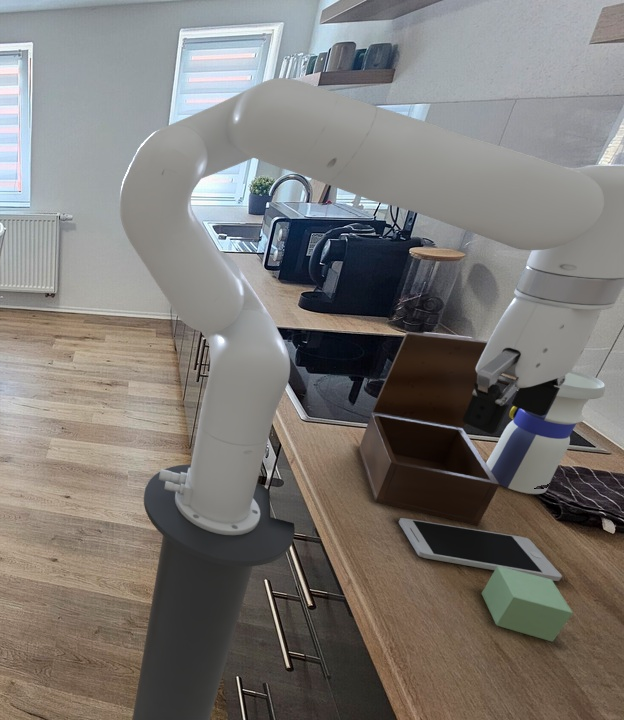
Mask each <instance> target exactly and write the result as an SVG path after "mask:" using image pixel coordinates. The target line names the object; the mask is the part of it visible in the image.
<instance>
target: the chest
mask: <svg viewBox="0 0 624 720" xmlns="http://www.w3.org/2000/svg"><path fill="white" fill-rule="evenodd" d="M358 451H359V453H360V457H361V461H362V463H363V466H364V469H365V474H366V476H367V480H368V483H369V486H370V489H371V492H372V495H373V499H374V502H375V503H379V504H383V505H386V506H387V505H388V506H392V507H396V508H400V509H404V510H409V511H413V512H418V513H421V514H426V515H430V516H435V517H439V518H442V519H448V520H452V521H457V522H460V523H465V524H470V525H474V526H479V524H480V523H481V521H482V519H483V517H484V515H485V514H486V511H487V509H488V507H489V506H490V504H491V502H492V500H493V498H494V496H495V495H496V493H497V491H498V489H499V487H500V486H501V485H500V484H499V483H498V481H497V480H496V478H495V477H494V475H493V474H492V472H491V471H490V469H489V467H488V466H487V464H486V462H485V460H484V458H483V457H482V455H481V454H480V452H479V450H478V449H477V448H476V446H475V445H474V443H473V442H472V440H471V439H470V437H469V436H468V434H467V433H466V431H465V430H464V428H463V427H457V426H452V425H446V424H440V423H434V422H428V421H422V420H416V419H411V418H405V417H399V416H393V415H387V414H381V413H375V412H371V414H370V416H369V420H368V422H367V426H366V428H365V431H364V433H363V436H362V439H361V442H360V445H359V447H358Z"/></svg>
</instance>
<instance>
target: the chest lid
mask: <svg viewBox="0 0 624 720" xmlns="http://www.w3.org/2000/svg"><path fill="white" fill-rule="evenodd" d="M488 341H489V340H484V339H474V338H473V337H471V336H465V335H464V336H463V335H455V334H448V333H447V334H446V333H436V332H430V331H429V332H427V331H423V332H414V331H406V332H405V335H404V337H403V339H402V341H401V343H400V346H399V348H398V350H397V353H396V355H395V357H394V359H393V362H392V364H391V366H390V369H389V371H388V373H387V375H386V378H385V379H384V382H383V384H382V387H381V388H380V391H379V393H378V396H377V398H376V400H375V402H374V405H373V407H372V413H375V414H381V415H387V416H393V417H399V418H405V419H410V420H416V421H422V422H428V423H434V424H440V425H446V426H452V427H458V428H465V427H467V424H466V423H464V422H463V417H464V415H465V412H466V410H467V408H468V406H469V403H470V401H471V399H472V396H473V395H472V392H473V390H474V389H475V388H474V384H475V383H477V382H476V381H477V374H478V373H477V372H476V366H477V364H478V361H479V359H480V357H481V355H482V353H483V351H484V349H485V347H486V345H487V343H488Z"/></svg>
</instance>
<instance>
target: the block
mask: <svg viewBox="0 0 624 720" xmlns="http://www.w3.org/2000/svg"><path fill="white" fill-rule="evenodd" d="M481 596H482V598H483V600H484V602H485V604H486V607H487V608H488V611H489V613H490V614H491V617H492V620H493V622H494V623H495V625H496V626H497V627H499V628H504V629H507V630H511V631H514V632H517V633H521V634H524V635H527V636H531V637H533V638H538V639H542V640H544V641H549V642H554V641H555V639H556V638H557V636H558V635H559V634H560V632H561V631H562V630H563V628H564V626H565V625H566V624H567V622H568V621H569V620H570V619H571V617H572V616H573V612H574V611H572V609H571V607H570V606H569V604H568V603H567V601H566V599H565V598H564V597H563V595H562V593H561V592H560V589H558V587H557V585H556V584H555V581H553V580H551V579H547V578H543V577H539V576H535V575H531V574H527V573H523V572H519V571H516V570H512V569H508V568H504V567H500V566H497V568H496V569H495V570H493V572H492V574H491V576H490V578H489V580H488V581H487V582H486V584H485V586H484V588H483V590H482V592H481Z"/></svg>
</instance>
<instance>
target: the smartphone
mask: <svg viewBox="0 0 624 720" xmlns="http://www.w3.org/2000/svg"><path fill="white" fill-rule="evenodd" d="M398 524H399V526H400V527H401V529H402V531H403V533H404V534H405V536H406V537H407V539H408V541H409V542H410V544H411V546H412V547H413V549H414V551H415V553H416V554H417V556H418V557H419V558H423V559H428V560H433V561H440V562H445V563H450V564H451V563H452V564H456V565H462V566H468V567H474V568H479V569H485V570H490V571H495V569H496V568H497V566H500V567H504V568H508V569H512V570H516V571H519V572H523V573H527V574H531V575H535V576H539V577H543V578H547V579H551V580H552V581H553V582H559V581H561V579H562V578H563V575H562V574H561V572H559V571H558V570H557V568H556V567H555V566H554V565H553V564H552V563H551V562H550V560H549V559H548V558H547V557H546V556H545V555H544V554H543V552H541V550H540V549H539V548H538V547H537V546H536V545H535V543H533V541H532V540H531V539H529V538H528V537H525V536H519V535H513V534H508V533H507V534H506V533H500V532H494V531H487V530H482V529H475V528H468V527H462V526H455V525H449V524H444V523H437V522H431V521H424V520H419V519H413V518H412V519H411V518H405V517H400V518H399V521H398Z"/></svg>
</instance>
